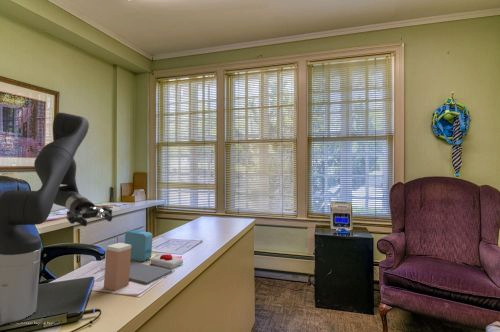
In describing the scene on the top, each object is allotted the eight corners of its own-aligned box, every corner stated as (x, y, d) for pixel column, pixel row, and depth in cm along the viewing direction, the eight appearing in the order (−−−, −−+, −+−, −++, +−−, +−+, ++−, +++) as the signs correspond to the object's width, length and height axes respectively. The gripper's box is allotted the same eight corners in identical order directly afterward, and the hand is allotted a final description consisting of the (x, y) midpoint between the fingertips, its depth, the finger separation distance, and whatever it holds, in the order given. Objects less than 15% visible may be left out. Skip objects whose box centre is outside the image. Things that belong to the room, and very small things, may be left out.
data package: (151, 259, 125) (153, 232, 125) (144, 262, 121) (145, 234, 121) (131, 255, 129) (132, 229, 130) (123, 257, 125) (125, 231, 125)
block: (115, 290, 91) (118, 248, 92) (103, 287, 93) (106, 245, 94) (128, 285, 96) (131, 244, 97) (117, 281, 98) (119, 242, 99)
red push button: (187, 254, 123) (172, 260, 113) (186, 263, 122) (171, 270, 113) (165, 249, 128) (149, 254, 118) (165, 259, 127) (149, 265, 118)
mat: (147, 284, 97) (147, 282, 97) (105, 274, 105) (106, 271, 105) (172, 272, 110) (172, 270, 110) (134, 263, 118) (134, 261, 118)
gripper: (59, 199, 102) (77, 215, 93) (99, 195, 113) (119, 208, 104) (58, 218, 103) (76, 235, 94) (98, 212, 115) (117, 226, 105)
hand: (98, 221), depth 99 cm, fingers open, 8 cm apart
